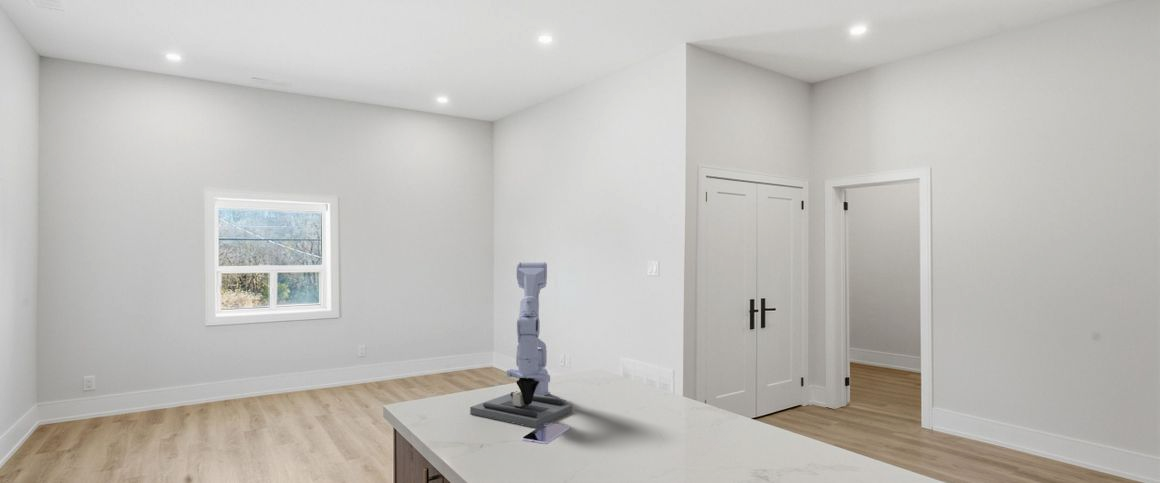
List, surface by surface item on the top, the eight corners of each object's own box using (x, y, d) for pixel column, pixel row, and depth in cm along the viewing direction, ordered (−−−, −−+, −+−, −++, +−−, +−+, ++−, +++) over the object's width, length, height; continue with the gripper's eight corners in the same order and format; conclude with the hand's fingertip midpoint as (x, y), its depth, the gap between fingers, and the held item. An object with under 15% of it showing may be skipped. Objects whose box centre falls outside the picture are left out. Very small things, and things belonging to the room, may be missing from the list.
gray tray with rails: (515, 394, 185) (515, 390, 185) (568, 404, 174) (568, 399, 174) (479, 407, 171) (479, 402, 171) (535, 418, 160) (535, 413, 160)
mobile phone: (519, 437, 148) (546, 421, 162) (519, 441, 148) (546, 424, 162) (546, 441, 145) (571, 424, 159) (546, 445, 145) (571, 428, 159)
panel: (508, 400, 186) (509, 393, 186) (571, 411, 173) (571, 404, 173) (470, 413, 171) (470, 406, 171) (536, 427, 158) (536, 420, 158)
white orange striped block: (520, 402, 175) (520, 390, 175) (527, 403, 173) (527, 391, 173) (512, 405, 172) (512, 393, 172) (520, 406, 170) (520, 394, 170)
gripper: (500, 357, 171) (500, 403, 171) (540, 362, 164) (540, 411, 164) (515, 353, 177) (514, 397, 177) (554, 358, 170) (554, 405, 170)
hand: (527, 403), depth 171 cm, fingers closed
